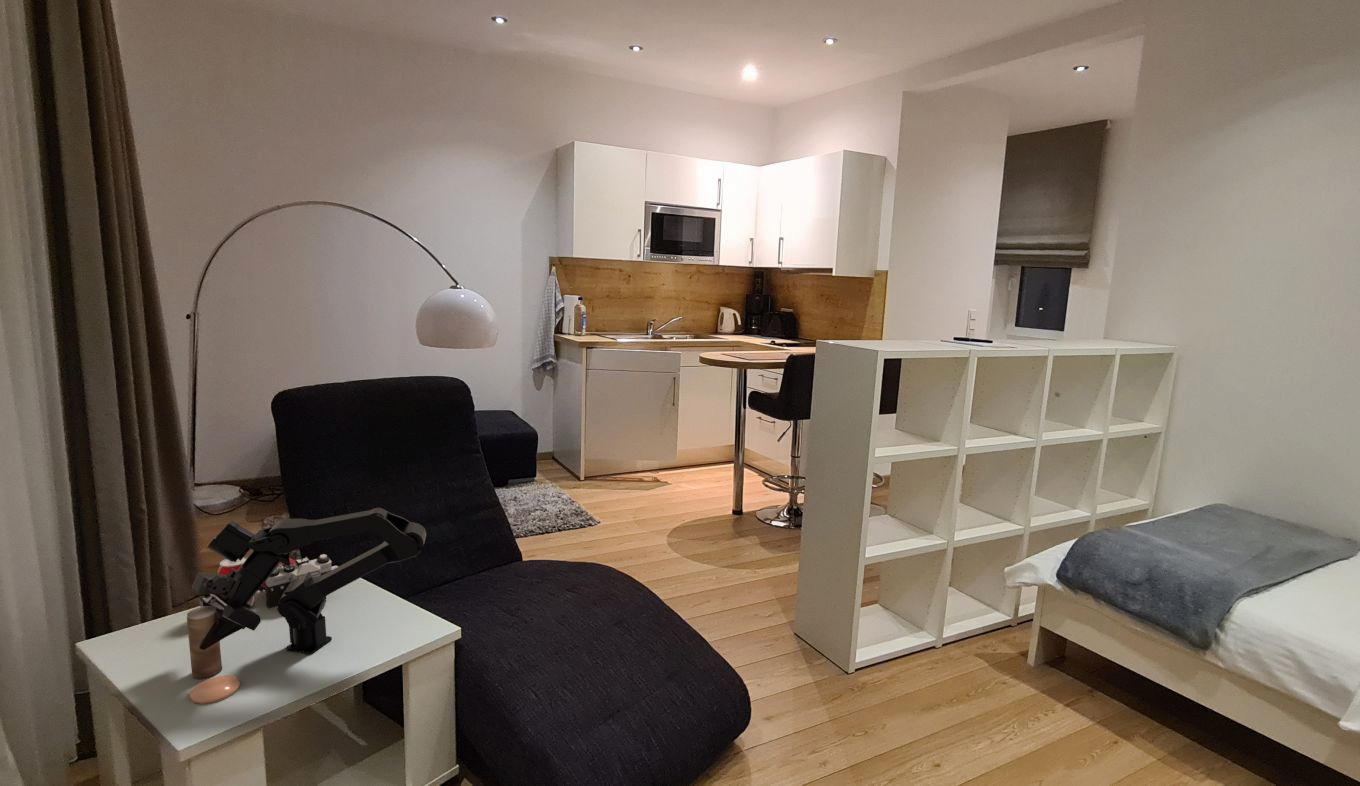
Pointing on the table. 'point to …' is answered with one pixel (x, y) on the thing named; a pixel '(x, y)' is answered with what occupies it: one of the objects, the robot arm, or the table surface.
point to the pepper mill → (198, 628)
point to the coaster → (214, 689)
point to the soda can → (228, 566)
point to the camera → (293, 576)
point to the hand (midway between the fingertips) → (196, 644)
